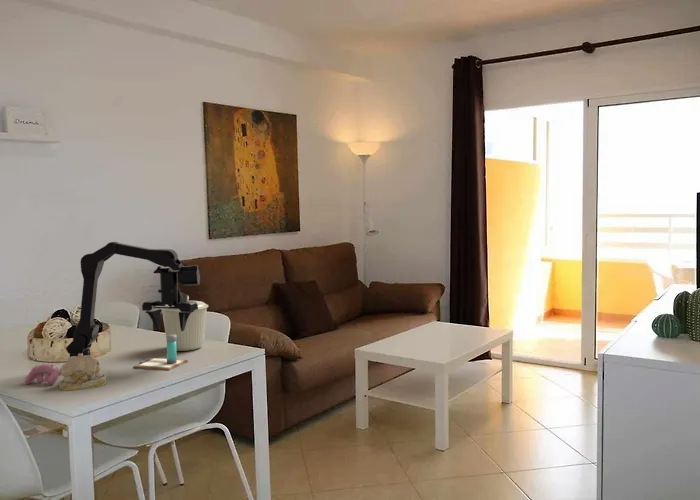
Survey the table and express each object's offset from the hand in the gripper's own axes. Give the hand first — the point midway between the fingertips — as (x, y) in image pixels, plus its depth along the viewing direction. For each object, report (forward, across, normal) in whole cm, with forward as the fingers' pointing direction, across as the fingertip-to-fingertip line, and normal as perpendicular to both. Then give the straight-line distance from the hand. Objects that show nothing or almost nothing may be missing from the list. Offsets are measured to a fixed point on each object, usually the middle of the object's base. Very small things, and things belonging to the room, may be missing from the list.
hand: (170, 330), depth 211 cm
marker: (+11, 0, 0) cm, 11 cm away
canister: (+12, +9, -24) cm, 29 cm away
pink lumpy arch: (+12, +28, +29) cm, 42 cm away
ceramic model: (+12, +15, +27) cm, 33 cm away
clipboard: (+12, +4, +1) cm, 13 cm away
